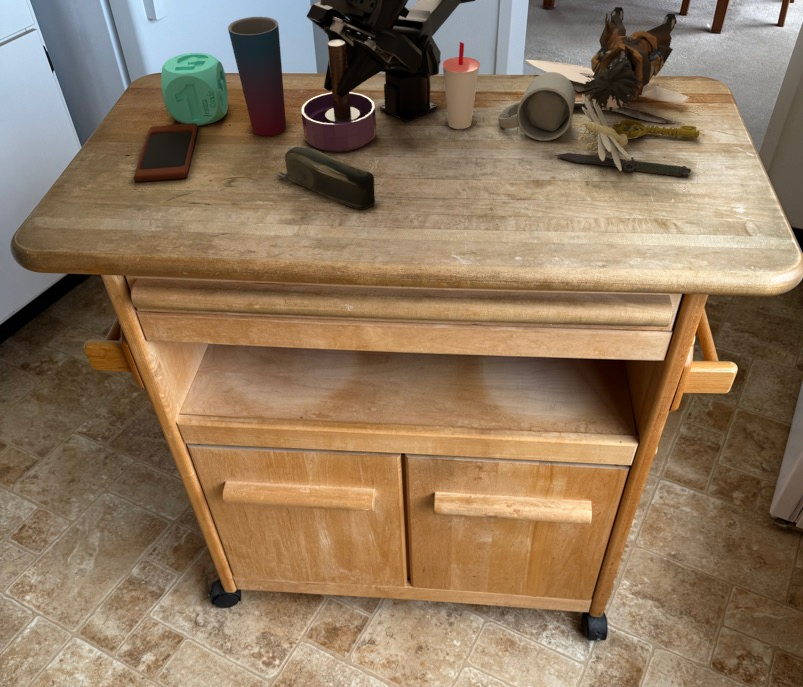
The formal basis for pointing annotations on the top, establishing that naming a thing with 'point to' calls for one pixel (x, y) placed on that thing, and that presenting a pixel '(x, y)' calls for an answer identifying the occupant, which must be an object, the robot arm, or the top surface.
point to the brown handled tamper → (337, 69)
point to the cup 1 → (260, 72)
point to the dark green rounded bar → (330, 177)
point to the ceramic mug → (542, 108)
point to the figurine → (627, 60)
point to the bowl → (338, 124)
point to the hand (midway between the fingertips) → (332, 92)
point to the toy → (603, 134)
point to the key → (653, 130)
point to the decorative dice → (194, 88)
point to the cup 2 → (460, 88)
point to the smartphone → (166, 152)
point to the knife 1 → (576, 75)
